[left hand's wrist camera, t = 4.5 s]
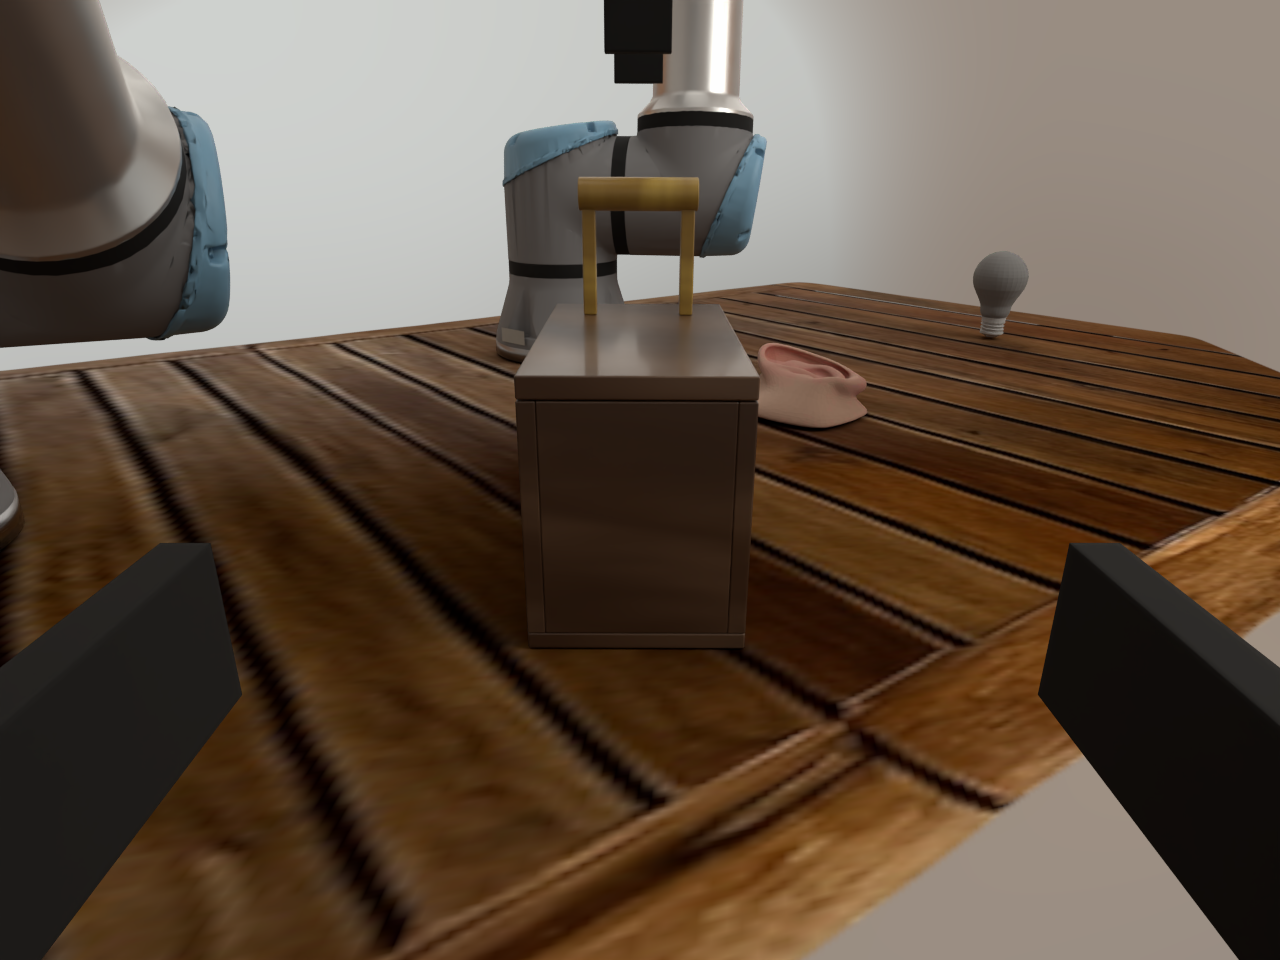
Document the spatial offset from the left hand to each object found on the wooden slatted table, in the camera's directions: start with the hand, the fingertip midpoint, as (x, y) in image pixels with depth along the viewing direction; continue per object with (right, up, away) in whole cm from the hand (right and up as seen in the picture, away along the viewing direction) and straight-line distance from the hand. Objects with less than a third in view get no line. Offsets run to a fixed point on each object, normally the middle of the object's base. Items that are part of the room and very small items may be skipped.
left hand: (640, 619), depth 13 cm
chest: (0, -2, +31) cm, 31 cm away
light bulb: (+43, +19, +86) cm, 98 cm away
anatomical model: (+14, +9, +58) cm, 60 cm away
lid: (0, +8, +27) cm, 28 cm away
